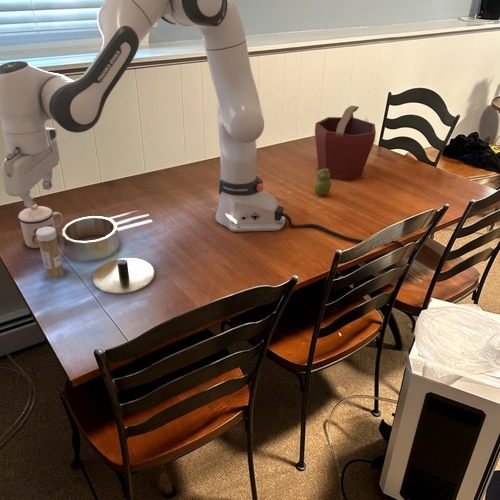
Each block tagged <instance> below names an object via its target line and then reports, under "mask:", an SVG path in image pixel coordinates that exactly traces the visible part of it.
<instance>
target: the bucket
mask: <svg viewBox="0 0 500 500" xmlns="http://www.w3.org/2000/svg"><path fill="white" fill-rule="evenodd" d="M359 108H360V106H358V105H357V106H356V105H349V106H348V107H347V108H345V110H344V112H343V114H342V115H341V116H340V117H339V116H327V117H326V118H324V119H321V120H319V121H317V122H316V123H315V125H314V136H315V147H316V149H315V150H316V159H317V169H318V171H319V170H321V169H323V168H327V169H329V173H330V179H332V180H337V181H342V182H347V181H351V180H356V179H360V178H361V177H362V175H363V172H364V170H365V167H366V164H367V162H368V159H369V157H370V153H371V151H372V148H373V146H374V143H375V139H376V134H377V131H376V124H375V123H373V122H369V121H366V120H363V119H360V118H356V117H354V113H355V112H356V111H358V109H359Z"/></svg>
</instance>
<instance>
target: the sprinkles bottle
mask: <svg viewBox="0 0 500 500" xmlns="http://www.w3.org/2000/svg"><path fill="white" fill-rule="evenodd" d="M36 235H37V239H38V241H39V245H40V248H39V251H40V254H41V260H42V263H43V266H44V270H45V276H46V277H47V278H49V279H57V278H60V277H62V276H63V275H64V274H65V270H64V267H63V261H62V256H61V252H60V247H59V244H58V240H57V239H58V236H57V229H55V228H53V227H42V228H40V229H38V230H37V231H36ZM56 236H57V238H56Z"/></svg>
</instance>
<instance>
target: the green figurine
mask: <svg viewBox="0 0 500 500" xmlns="http://www.w3.org/2000/svg"><path fill="white" fill-rule="evenodd" d="M316 177H317V182H315V185H314V192H315V193H316V194H317V195H318V196H320V197H324V196H326V195H329V193H330V191H331V188H332V182H331V178H330V173H329V169H327V168H323V169H321V170H318V171H317V174H316Z"/></svg>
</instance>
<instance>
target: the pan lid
mask: <svg viewBox="0 0 500 500" xmlns="http://www.w3.org/2000/svg"><path fill="white" fill-rule="evenodd" d="M154 278H155V269H154V267H153V265H151V264H150V263H149V262H147V261H146V260H143V259H139V258H133V257H125V258H123V257H122V258H117V259H113V260H110V261H107V262H106V263H103V264H102V265H100V266H99V267H97V269H96V270H95V271H94V273H93V275H92V282H93V285H94V286H95V287H96V289H98V290H99V291H101V292H103V293H106V294H112V295H127V294H131V293H132V294H133V293H135V292H138V291H141V290H142V289H144V288H146V287H148V286H149V285H150V284H151V283H152V282H153V280H154Z"/></svg>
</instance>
